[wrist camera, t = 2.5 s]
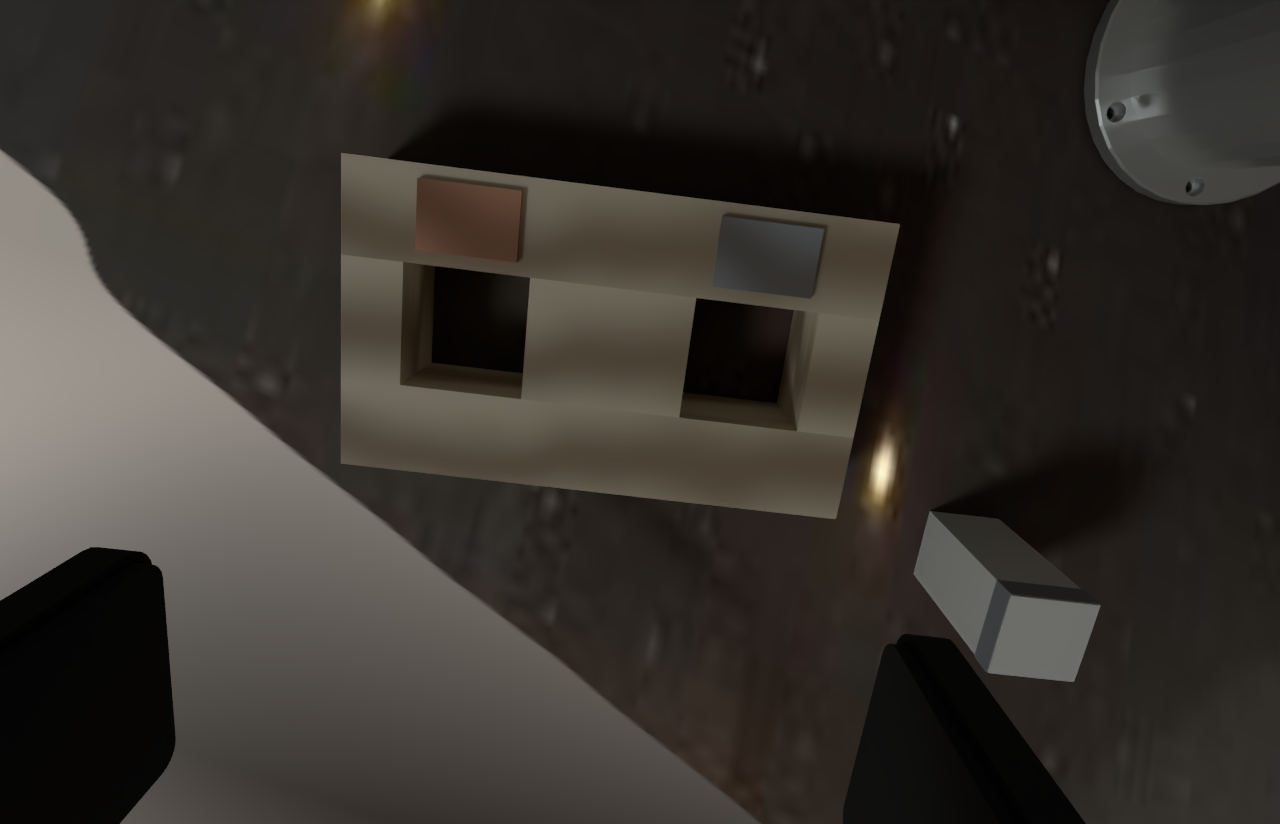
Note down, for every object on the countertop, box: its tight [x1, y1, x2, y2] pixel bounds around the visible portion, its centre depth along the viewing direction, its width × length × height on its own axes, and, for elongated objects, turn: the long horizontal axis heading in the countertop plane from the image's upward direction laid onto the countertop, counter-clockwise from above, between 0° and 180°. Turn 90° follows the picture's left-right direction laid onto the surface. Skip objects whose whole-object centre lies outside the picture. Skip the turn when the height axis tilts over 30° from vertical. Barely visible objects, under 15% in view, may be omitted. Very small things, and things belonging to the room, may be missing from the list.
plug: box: [914, 511, 1100, 682], centre depth 35 cm, size 4×4×9 cm
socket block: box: [341, 153, 900, 519], centre depth 34 cm, size 14×24×5 cm, turn 83°
